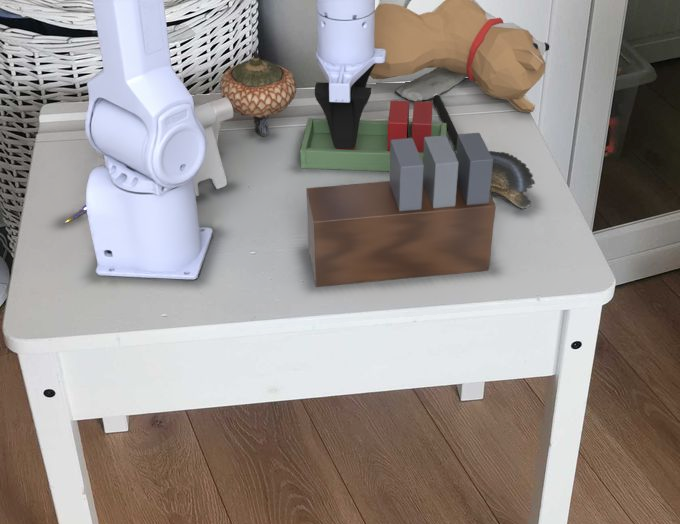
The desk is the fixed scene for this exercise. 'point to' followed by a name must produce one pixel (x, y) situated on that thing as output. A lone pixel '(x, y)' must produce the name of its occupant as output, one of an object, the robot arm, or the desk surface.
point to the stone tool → (430, 84)
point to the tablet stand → (212, 141)
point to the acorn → (258, 90)
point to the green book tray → (367, 151)
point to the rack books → (400, 122)
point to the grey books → (440, 171)
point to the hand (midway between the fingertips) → (346, 133)
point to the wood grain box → (393, 235)
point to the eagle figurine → (510, 178)
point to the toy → (460, 47)
